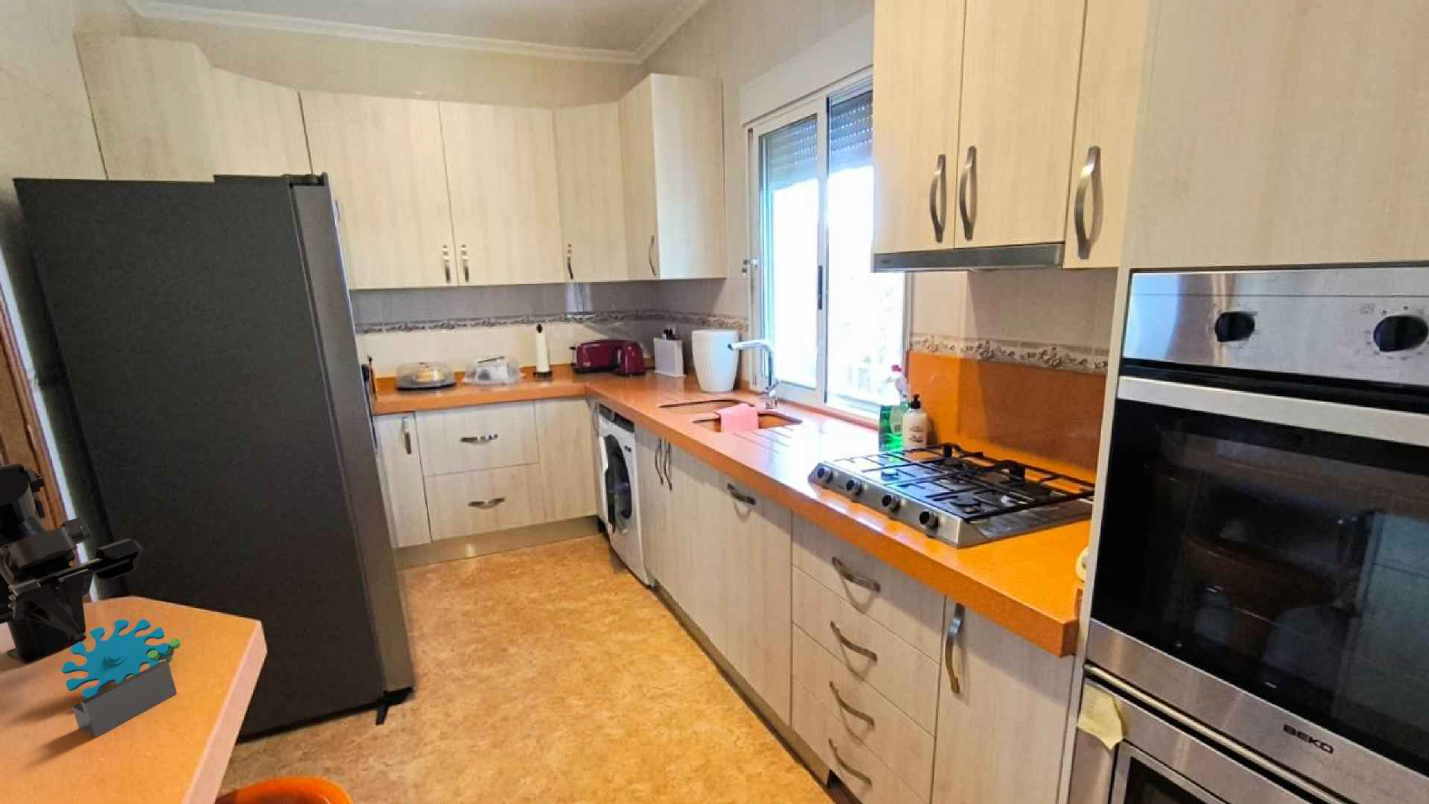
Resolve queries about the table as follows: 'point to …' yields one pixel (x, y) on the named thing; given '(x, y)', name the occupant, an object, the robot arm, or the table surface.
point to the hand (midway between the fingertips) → (81, 633)
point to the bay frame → (125, 700)
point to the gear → (118, 655)
